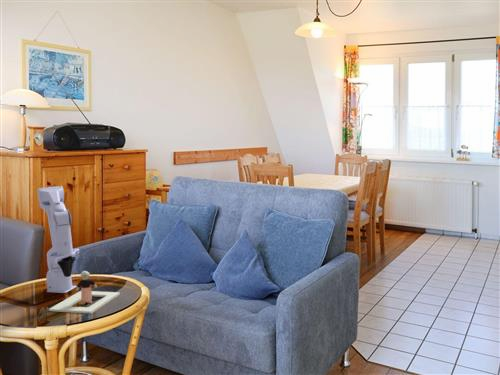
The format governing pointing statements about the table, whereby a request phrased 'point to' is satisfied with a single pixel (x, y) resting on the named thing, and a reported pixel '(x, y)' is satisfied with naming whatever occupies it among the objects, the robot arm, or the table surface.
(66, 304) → the pale rectangular frame
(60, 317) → the table surface
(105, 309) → the table surface
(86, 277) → the grandmother figurine
